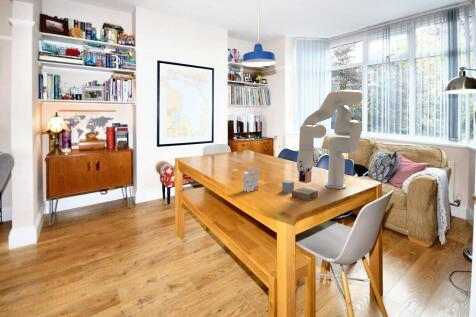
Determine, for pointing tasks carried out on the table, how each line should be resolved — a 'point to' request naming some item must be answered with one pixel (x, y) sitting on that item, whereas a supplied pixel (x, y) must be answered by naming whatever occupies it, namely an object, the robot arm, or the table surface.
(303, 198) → the walnut block
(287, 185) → the slate grey block
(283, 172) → the table surface
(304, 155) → the robot arm
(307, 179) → the terracotta block
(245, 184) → the ink cartridge box
